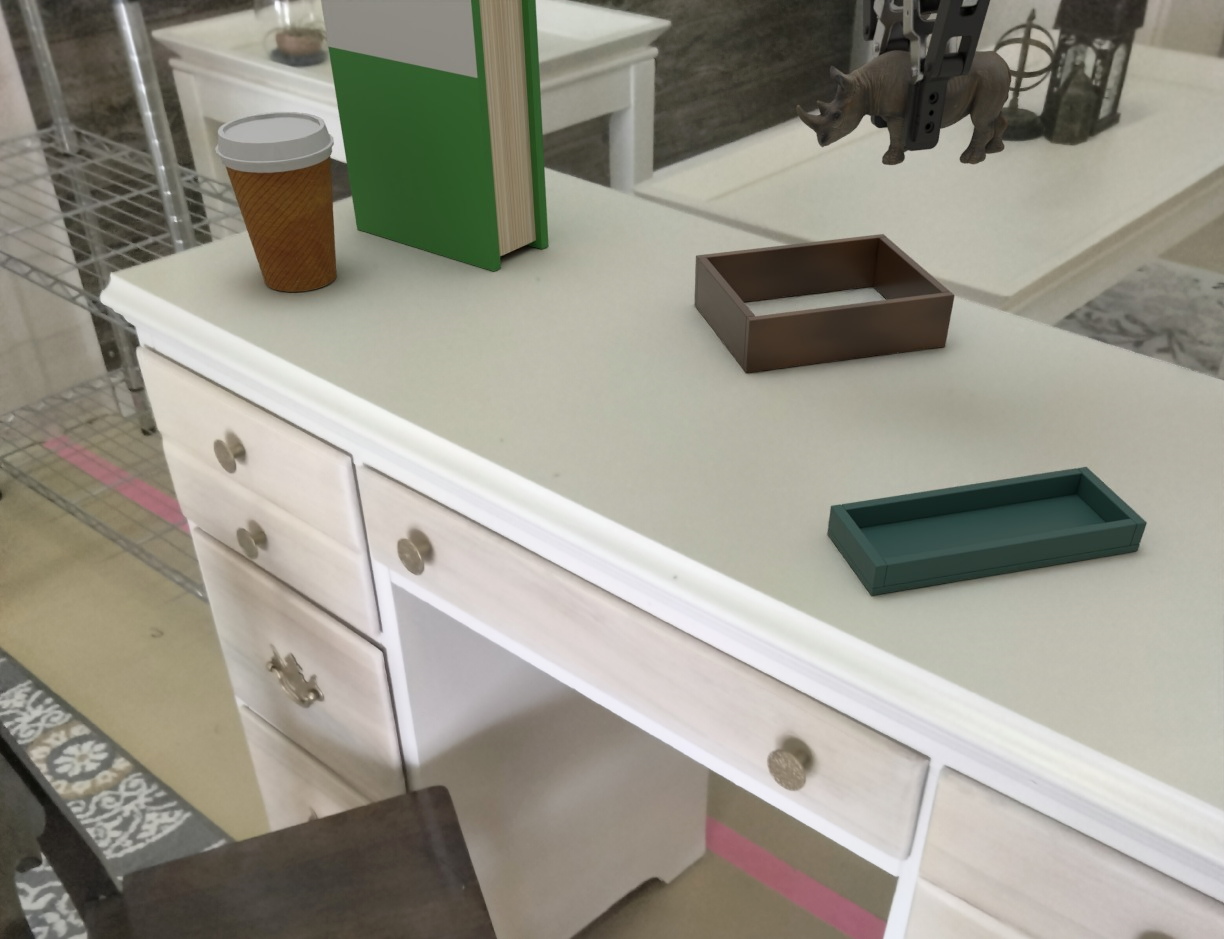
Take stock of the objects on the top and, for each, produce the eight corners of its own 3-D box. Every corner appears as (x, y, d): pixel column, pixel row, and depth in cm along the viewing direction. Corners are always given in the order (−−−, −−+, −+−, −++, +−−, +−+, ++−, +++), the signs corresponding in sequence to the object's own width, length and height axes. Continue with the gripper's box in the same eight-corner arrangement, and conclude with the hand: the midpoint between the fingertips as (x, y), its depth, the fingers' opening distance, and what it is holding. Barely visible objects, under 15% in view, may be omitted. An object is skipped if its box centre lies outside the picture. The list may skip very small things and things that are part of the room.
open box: (877, 282, 103) (883, 233, 101) (945, 346, 94) (955, 294, 91) (694, 304, 101) (695, 255, 98) (746, 373, 91) (749, 320, 89)
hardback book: (548, 246, 111) (531, -76, 94) (493, 271, 106) (465, -61, 90) (412, 207, 119) (374, -96, 102) (357, 229, 114) (307, -83, 98)
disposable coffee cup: (279, 309, 101) (246, 152, 93) (226, 277, 107) (191, 126, 98) (376, 279, 106) (353, 127, 97) (320, 250, 111) (294, 103, 102)
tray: (1078, 494, 78) (1086, 466, 77) (1138, 551, 73) (1147, 522, 72) (827, 533, 75) (830, 505, 74) (871, 596, 70) (876, 566, 69)
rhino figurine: (790, 148, 80) (797, 43, 76) (999, 145, 80) (1018, 40, 75) (794, 168, 77) (802, 61, 73) (1011, 166, 77) (1032, 57, 72)
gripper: (1077, -204, 61) (1007, 165, 73) (955, -226, 71) (912, 101, 83) (938, -195, 60) (891, 177, 72) (835, -219, 70) (808, 111, 82)
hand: (902, 135), depth 77 cm, fingers closed on rhino figurine, 4 cm apart
